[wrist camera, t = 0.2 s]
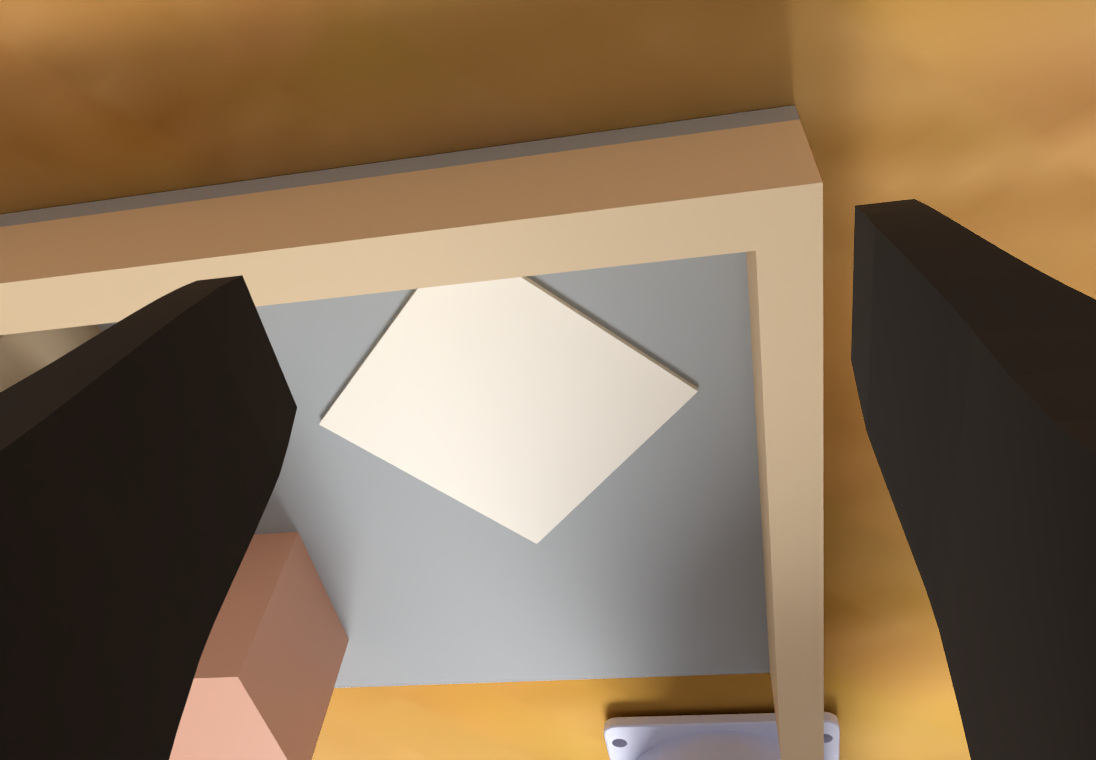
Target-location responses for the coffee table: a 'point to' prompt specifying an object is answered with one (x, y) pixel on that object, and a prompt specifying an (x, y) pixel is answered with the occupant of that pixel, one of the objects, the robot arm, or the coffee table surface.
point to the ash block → (37, 350)
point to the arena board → (592, 288)
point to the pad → (505, 400)
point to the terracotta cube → (265, 661)
